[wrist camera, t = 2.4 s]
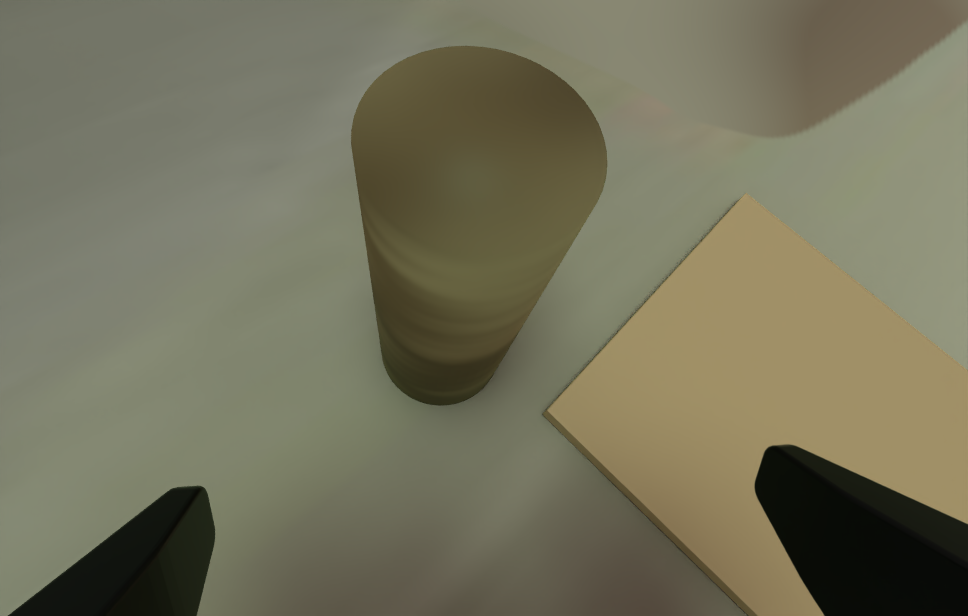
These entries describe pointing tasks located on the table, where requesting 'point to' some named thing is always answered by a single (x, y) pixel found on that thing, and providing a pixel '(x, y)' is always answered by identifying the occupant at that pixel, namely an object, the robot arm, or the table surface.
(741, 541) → the beige square board
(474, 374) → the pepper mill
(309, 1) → the table surface
